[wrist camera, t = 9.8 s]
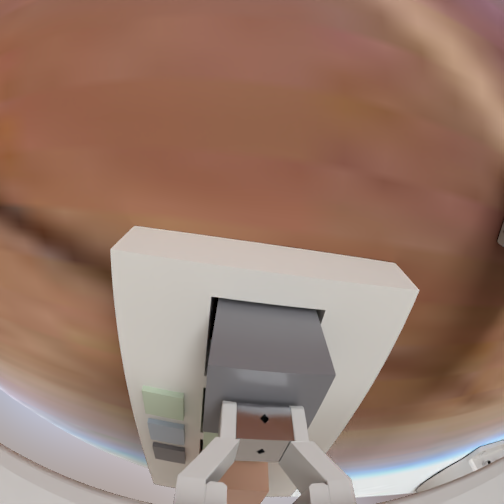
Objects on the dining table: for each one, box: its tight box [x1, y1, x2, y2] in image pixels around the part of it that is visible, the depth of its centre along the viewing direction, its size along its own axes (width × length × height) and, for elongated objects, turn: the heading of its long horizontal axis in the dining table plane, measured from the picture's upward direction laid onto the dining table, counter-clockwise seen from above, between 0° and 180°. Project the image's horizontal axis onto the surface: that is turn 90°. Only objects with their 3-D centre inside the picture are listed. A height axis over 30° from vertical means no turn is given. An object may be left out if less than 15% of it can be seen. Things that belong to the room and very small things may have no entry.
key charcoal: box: [203, 298, 336, 433], centre depth 12 cm, size 4×4×4 cm
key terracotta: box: [218, 461, 269, 504], centre depth 17 cm, size 4×4×4 cm
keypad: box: [110, 226, 419, 497], centre depth 18 cm, size 14×26×3 cm, turn 171°
